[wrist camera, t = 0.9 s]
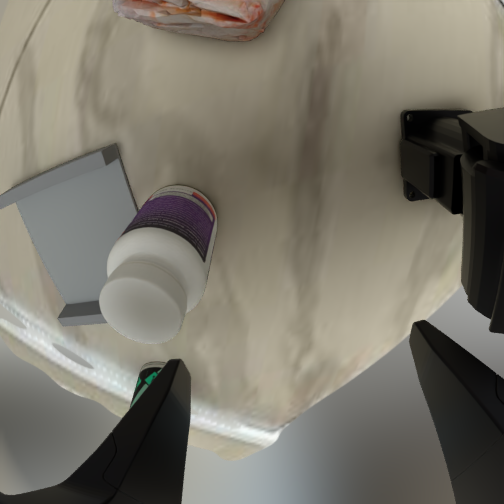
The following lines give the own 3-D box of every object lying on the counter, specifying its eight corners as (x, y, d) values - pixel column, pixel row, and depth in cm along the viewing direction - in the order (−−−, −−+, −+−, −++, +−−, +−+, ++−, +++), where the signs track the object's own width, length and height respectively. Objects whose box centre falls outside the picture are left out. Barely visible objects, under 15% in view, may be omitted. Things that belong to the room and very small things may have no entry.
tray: (115, 143, 18) (101, 150, 16) (172, 298, 25) (166, 316, 23) (12, 187, 19) (-5, 198, 17) (72, 310, 26) (62, 326, 24)
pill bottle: (136, 188, 20) (68, 266, 12) (213, 179, 20) (184, 259, 11) (152, 255, 23) (108, 352, 14) (222, 251, 22) (208, 355, 14)
